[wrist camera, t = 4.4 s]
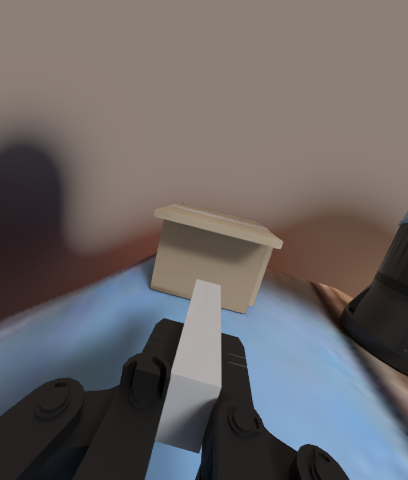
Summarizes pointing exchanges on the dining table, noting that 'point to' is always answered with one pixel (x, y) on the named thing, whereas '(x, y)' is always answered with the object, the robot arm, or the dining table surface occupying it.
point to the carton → (209, 264)
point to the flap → (219, 223)
